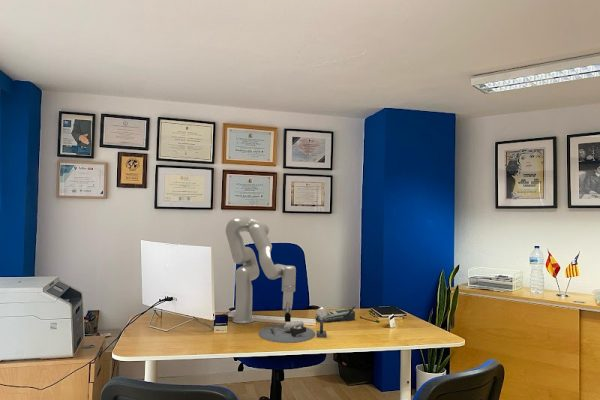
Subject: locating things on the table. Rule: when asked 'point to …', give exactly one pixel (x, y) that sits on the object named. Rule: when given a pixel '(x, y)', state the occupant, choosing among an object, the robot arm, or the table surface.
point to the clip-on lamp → (293, 328)
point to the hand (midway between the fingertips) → (287, 321)
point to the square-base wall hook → (321, 322)
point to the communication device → (339, 315)
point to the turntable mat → (284, 335)
